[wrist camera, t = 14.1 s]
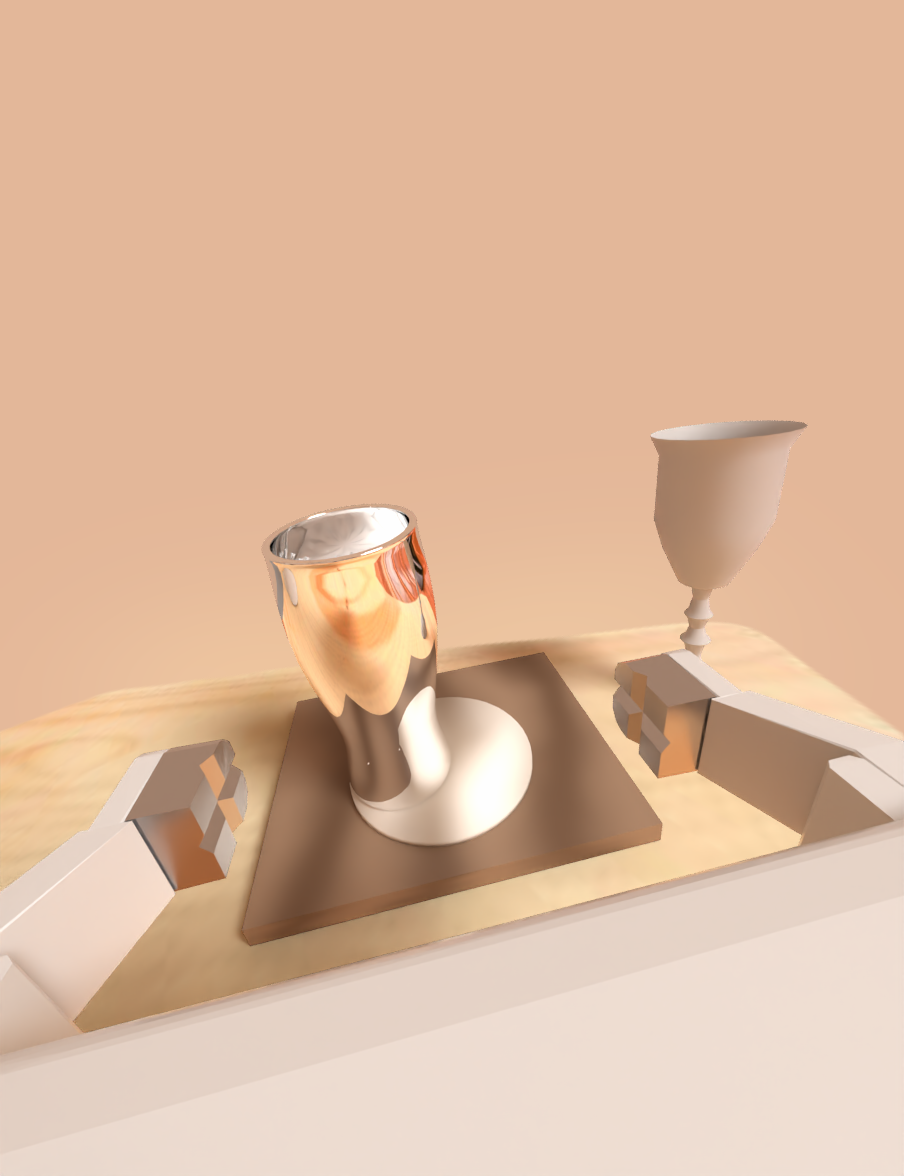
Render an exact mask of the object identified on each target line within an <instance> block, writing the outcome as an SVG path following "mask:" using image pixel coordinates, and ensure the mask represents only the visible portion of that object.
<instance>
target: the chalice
mask: <svg viewBox="0 0 904 1176" xmlns="http://www.w3.org/2000/svg"><path fill="white" fill-rule="evenodd" d="M806 427H807V425H806V424H805V423H801V422H793V421H739V422H722V423H710V424H701V425H692V426H684V427H677V428H671V429H666V430H662V431H658V432H655V433H652V434H651V439H652V441H653V443H654V445H655V447H656V450H657V452H658V454H659V464H658V476H657V489H656V502H655V514H654V521H655V524H656V527H657V531H658V534H659V538H660V541H661V544H662V547H663V549H664V551H665V554H666V555H667V558H668V560H669V562H670V564H671V566H672V568H673V570H674V573H675V575H676V577H677V579H678V581H679V582H680V583H682V584H684V585H686V586H689V587H692V593H693V598H692V600H691V603H690V606H689V608H687V609H686V610H685V612H684V613H685V615H686V616H687V618H688V622H689V627H688V629H687V631H686V632H684V633H682V634H681V635H680V639H681V640H682V641H683V642H684V643H685V649H686V650H688V651H690V652H692V653H693V654H694V655H696V656H697V657H698V658H699V659H701V652H702V650H703V648H704V646H705V645H707V644H708V643H710V641H711V639H710V637H709V636H708V635H707V634H706V631H705V625H706V623H707V621H708V620H709V619H710V618H711V617H712V616H713V613H712V612H711V610H710V606H709V596H710V594H711V591H712V589H716V588H721V587H724V586H726V585H728V584H729V583H730V582H731V580H732V579H733V578H734V577H735V576H736V574H737V573H738V572H739V571H740V570H741V568H742V567H743V566H744V565H745V563H746V562H747V561H748V560H749V559H750V557H751V556H752V555H753V554H754V552H755V551H756V550H757V549H758V547H759V545H760V544H761V542H762V541H763V539H764V538H765V536H766V534H767V533H768V531H769V529H770V528H771V526H772V525H773V523H774V522H775V520H776V516H777V511H778V506H779V501H780V496H781V491H782V486H783V481H784V476H785V471H786V466H787V461H788V456H789V451H790V447H791V446H792V445H793V444H794V442H795V441H796V440H797V438H798V437H799V436H800V435H801V433H802V432H803V431H804V429H805V428H806ZM708 666H709V665H708Z"/></svg>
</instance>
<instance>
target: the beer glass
mask: <svg viewBox="0 0 904 1176" xmlns="http://www.w3.org/2000/svg"><path fill="white" fill-rule="evenodd" d="M262 553H263V555H264V558H265V561H266V564H267V568H268V571H269V575H270V580H271V584H272V588H273V592H274V595H275V599H276V603H277V606H278V610H279V613H280V616H281V620H282V623H283V626H284V629H285V632H286V635H287V638H288V640H289V643H290V645H291V647H292V650H293V652H294V655H295V657H296V659H297V661H298V663H299V665H300V667H301V669H302V671H303V673H304V674H305V676H306V678H307V680H308V682H309V684H310V685H311V687H312V688H313V690H314V692H315V693H316V695H317V696H318V698H319V699H320V701H321V703H322V704H323V706H324V707H325V709H326V710H327V712H328V713H329V715H330V716H331V718H332V719H333V721H334V723H335V724H336V726H337V728H338V729H339V731H340V733H341V735H342V738H343V740H344V743H345V747H346V752H347V764H348V775H349V780H350V784H351V787H352V789H353V791H354V792H355V794H356V795H357V796H358V798H359V799H360V800H362V801H363V802H364V803H366V804H367V805H369V806H371V807H374V808H377V809H381V810H401V809H405V808H409V807H412V806H415V805H417V804H419V803H421V802H423V801H424V800H426V799H427V798H429V797H430V796H431V795H433V794H434V793H435V792H436V791H437V790H438V789H439V788H440V786H441V785H442V784H443V782H444V781H445V779H446V777H447V775H448V772H449V769H450V765H451V750H450V746H449V743H448V740H447V738H446V735H445V733H444V731H443V729H442V727H441V725H440V722H439V719H438V715H437V711H436V675H437V651H438V641H437V618H436V610H435V601H434V595H433V590H432V585H431V580H430V575H429V571H428V567H427V562H426V558H425V554H424V550H423V547H422V543H421V539H420V535H419V531H418V527H417V519H416V516H415V514H414V513H413V512H412V511H410V510H408V509H406V508H403V507H400V506H395V505H389V504H361V505H352V506H346V507H339V508H334V509H330V510H325V511H322V512H318V513H315V514H311V515H308V516H305V517H303V518H300V519H298V520H295V521H293V522H291V523H288V524H286V525H285V526H283V527H281V528H279V529H278V530H276V531H275V532H273V533H272V534H271V535H270V536H269V537H268V538H267V539H266V540H265V541H264V543H263V545H262Z"/></svg>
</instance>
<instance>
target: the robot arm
mask: <svg viewBox="0 0 904 1176" xmlns="http://www.w3.org/2000/svg"><path fill="white" fill-rule="evenodd" d="M614 679H615V680H616V681H617V682H618V683H619V685H620V687H619V688H618V689H617V691H616V692H615V694H614V695H613V710H614V714H615V718H616V721H617V723H618V725H619V727H620V729H621V731H622V732H623V733H624V735H625V736H626V737H627V738H628V739H630V740H632V741H634V742H636V743H638V744H640V745H639V755H640V756H641V757H642V758H643V760H644V761H645V762H646V764H647V765H648V766H649V768H650V769H651V770H652V771H653V773H654V774H655V775H656V777H657V778H662V777H667V776H672V775H677V774H682V773H688V772H693V771H698V772H697V773H699V774H701V775H702V776H704V777H706V778H707V779H709V780H711V781H712V782H714V783H716V784H717V785H719V786H721V787H722V788H724V789H726V790H727V791H729V792H731V793H732V794H734V795H736V796H737V797H739V798H741V799H742V800H744V801H746V802H747V803H749V804H751V805H752V806H754V807H756V808H757V809H759V810H761V811H762V812H764V813H766V814H767V815H769V816H771V817H772V818H774V819H776V820H777V821H779V822H781V823H782V824H784V825H786V826H787V827H789V828H791V829H792V830H794V831H796V832H797V833H799V834H801V835H802V836H801V839H800V842H799V844H798V846H797V847H793V848H790V849H786V850H782V851H778V852H774V853H770V854H767V855H763V856H759V857H755V858H751V859H747V860H744V861H740V862H736V863H732V864H728V865H725V866H721V867H717V868H713V869H709V870H705V871H702V872H698V873H694V874H690V875H686V876H683V877H679V878H675V879H671V880H667V881H664V882H660V883H656V884H652V885H648V886H645V887H641V888H637V889H633V890H629V891H626V892H622V893H618V894H614V895H610V896H607V897H603V898H599V899H595V900H591V901H587V902H584V903H580V904H576V905H572V906H568V907H565V908H561V909H557V910H553V911H549V912H546V913H542V914H538V915H534V916H530V917H527V918H523V919H519V920H515V921H511V922H507V923H504V924H500V925H496V926H492V927H488V928H485V929H481V930H477V931H473V932H469V933H465V934H462V935H458V936H454V937H450V938H446V939H442V940H439V941H435V942H431V943H427V944H423V945H420V946H416V947H412V948H408V949H404V950H400V951H397V952H393V953H389V954H385V955H381V956H377V957H374V958H370V959H366V960H362V961H358V962H354V963H351V964H347V965H343V966H339V967H335V968H332V969H328V970H324V971H320V972H316V973H312V974H309V975H305V976H301V977H297V978H293V979H290V980H286V981H282V982H278V983H274V984H270V985H267V986H263V987H259V988H255V989H251V990H247V991H244V992H240V993H236V994H232V995H228V996H225V997H221V998H217V999H213V1000H209V1001H205V1002H202V1003H198V1004H194V1005H190V1006H186V1007H182V1008H179V1009H175V1010H171V1011H167V1012H163V1013H160V1014H156V1015H152V1016H148V1017H144V1018H140V1019H137V1020H133V1021H129V1022H125V1023H121V1024H117V1025H114V1026H110V1027H106V1028H102V1029H98V1030H95V1031H91V1032H87V1033H83V1031H82V1030H81V1029H80V1028H79V1027H78V1026H77V1025H76V1024H75V1023H74V1022H73V1021H74V1020H75V1019H76V1017H77V1016H78V1015H79V1014H80V1012H81V1011H82V1010H83V1009H84V1007H85V1006H86V1005H87V1004H88V1002H89V1001H90V1000H91V999H92V997H93V996H94V995H95V994H96V992H97V991H98V990H99V989H100V987H101V986H102V985H103V984H104V982H105V981H106V980H107V979H108V978H109V976H110V975H111V974H112V973H113V971H114V970H115V969H116V968H117V966H118V965H119V964H120V963H121V961H122V960H123V959H124V958H125V956H126V955H127V954H128V953H129V951H130V950H131V949H132V948H133V946H134V945H135V944H136V943H137V941H138V940H139V939H140V938H141V936H142V935H143V934H144V933H145V931H146V930H147V929H148V928H149V926H150V925H151V924H152V923H153V922H154V920H155V919H156V918H157V917H158V915H159V914H160V913H161V912H162V910H163V909H164V908H165V907H166V905H167V904H168V903H169V902H170V900H171V899H172V898H173V897H174V895H175V891H178V890H182V889H185V888H189V887H193V886H197V885H201V884H205V883H209V882H212V881H216V880H220V879H224V878H226V876H227V873H228V870H229V866H230V863H231V860H232V857H233V853H234V850H235V847H236V843H237V842H236V840H235V838H234V836H233V834H232V832H233V831H234V830H235V829H236V828H237V827H238V826H239V825H240V824H241V823H242V822H243V820H244V816H245V813H246V809H247V796H248V790H247V785H246V780H245V777H244V775H243V772H242V770H240V769H238V768H237V767H235V766H233V765H231V764H232V761H233V758H234V755H235V753H234V751H233V749H232V746H231V744H230V742H229V741H227V740H224V739H222V740H216V741H210V742H205V743H199V744H193V745H187V746H181V747H176V748H171V749H166V750H160V751H155V752H149V753H144V754H142V755H140V756H138V757H137V758H135V760H134V761H133V762H132V764H131V766H130V767H129V769H128V770H127V772H126V773H125V775H124V776H123V778H122V779H121V781H120V782H119V784H118V785H117V787H116V788H115V790H114V791H113V793H112V794H111V796H110V797H109V799H108V801H107V802H106V804H105V805H104V807H103V808H102V810H101V811H100V813H99V814H98V816H97V817H96V819H95V820H94V822H93V823H92V825H91V826H90V828H89V829H88V830H85V831H81V832H78V833H76V834H75V835H74V836H73V837H71V838H70V839H69V840H67V841H66V842H65V843H63V844H62V845H61V846H60V847H58V848H57V849H56V850H54V851H53V852H52V853H50V854H49V855H48V856H47V857H45V858H44V859H43V860H41V861H40V862H39V863H37V864H36V865H35V866H34V867H32V868H31V869H30V870H28V871H27V872H26V873H24V874H23V875H22V876H21V877H19V878H18V879H17V880H15V881H14V882H13V883H11V884H10V885H9V886H8V887H6V888H5V889H4V890H2V891H1V892H0V1176H904V741H902V740H899V739H896V738H893V737H890V736H887V735H884V734H880V733H877V732H874V731H871V730H868V729H865V728H862V727H859V726H856V725H853V724H850V723H847V722H844V721H841V720H838V719H834V718H831V717H828V716H825V715H822V714H819V713H816V712H813V711H810V710H807V709H804V708H801V707H798V706H795V705H792V704H788V703H785V702H782V701H779V700H776V699H773V698H770V697H767V696H764V695H761V694H758V693H755V692H752V691H746V692H742V691H740V690H739V689H738V688H737V687H735V686H734V685H733V684H731V683H730V682H729V681H728V680H726V679H725V678H724V677H723V676H721V675H720V674H719V673H717V672H716V671H715V670H714V669H712V668H711V667H710V666H708V665H707V664H706V663H705V662H703V661H702V660H701V659H699V658H698V657H697V656H696V655H694V654H693V653H692V652H690V651H688V650H685V649H680V650H675V651H671V652H666V653H662V654H661V655H655V656H650V657H645V658H640V659H635V660H630V661H625V662H620V663H618V664H617V666H616V669H615V678H614Z"/></svg>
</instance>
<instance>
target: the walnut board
mask: <svg viewBox="0 0 904 1176" xmlns="http://www.w3.org/2000/svg"><path fill="white" fill-rule="evenodd" d="M436 711H437V715H438V719H439V722H440V725H441V727H442V729H443V731H444V733H445V735H446V738H447V740H448V743H449V746H450V750H451V765H450V769H449V772H448V775H447V777H446V779H445V781H444V782H443V784H442V785H441V786H440V788H439V789H438V790H437V791H436V792H435V793H434V794H433V795H431V796H430V797H429V798H427V799H426V800H424V801H423V802H421V803H419V804H417V805H415V806H412V807H409V808H405V809H401V810H381V809H377V808H374V807H371V806H369V805H367V804H366V803H364V802H363V801H362V800H360V799H359V798H358V796H357V795H356V794H355V792H354V791H353V789H352V787H351V784H350V780H349V775H348V764H347V752H346V747H345V743H344V740H343V738H342V735H341V733H340V731H339V729H338V728H337V726H336V724H335V723H334V721H333V719H332V718H331V716H330V715H329V713H328V712H327V710H326V709H325V707H324V706H323V704H322V703H321V701H320V699H319V698H314V699H309V700H304V701H299V702H297V706H296V710H295V714H294V718H293V723H292V727H291V731H290V735H289V739H288V743H287V747H286V751H285V755H284V759H283V764H282V768H281V772H280V776H279V780H278V784H277V788H276V792H275V796H274V800H273V805H272V809H271V813H270V817H269V821H268V825H267V829H266V833H265V837H264V841H263V846H262V850H261V854H260V858H259V862H258V866H257V870H256V874H255V878H254V882H253V887H252V891H251V895H250V899H249V903H248V907H247V911H246V915H245V919H244V923H243V927H242V932H243V934H244V936H245V937H246V939H247V941H248V943H249V945H250V946H252V945H256V944H260V943H263V942H267V941H271V940H275V939H279V938H283V937H287V936H291V935H294V934H298V933H302V932H306V931H310V930H314V929H318V928H321V927H325V926H329V925H333V924H337V923H341V922H345V921H348V920H352V919H356V918H360V917H364V916H368V915H372V914H375V913H379V912H383V911H387V910H391V909H395V908H399V907H403V906H406V905H410V904H414V903H418V902H422V901H426V900H430V899H433V898H437V897H441V896H445V895H449V894H453V893H457V892H460V891H464V890H468V889H472V888H476V887H480V886H484V885H487V884H491V883H495V882H499V881H503V880H507V879H511V878H514V877H518V876H522V875H526V874H530V873H534V872H538V871H542V870H545V869H549V868H553V867H557V866H561V865H565V864H569V863H572V862H576V861H580V860H584V859H588V858H592V857H596V856H599V855H603V854H607V853H611V852H615V851H619V850H623V849H626V848H630V847H634V846H638V845H642V844H646V843H650V842H653V841H657V840H660V839H661V831H662V822H661V821H660V819H659V818H658V816H657V815H656V813H655V812H654V811H653V809H652V808H651V806H650V805H649V803H648V802H647V800H646V799H645V798H644V796H643V795H642V793H641V792H640V790H639V789H638V787H637V786H636V785H635V783H634V782H633V780H632V779H631V777H630V776H629V775H628V773H627V772H626V770H625V769H624V767H623V766H622V764H621V763H620V762H619V760H618V759H617V757H616V756H615V754H614V753H613V751H612V750H611V749H610V747H609V746H608V744H607V743H606V741H605V740H604V739H603V737H602V736H601V734H600V733H599V731H598V730H597V728H596V727H595V726H594V724H593V723H592V721H591V720H590V718H589V717H588V715H587V714H586V713H585V711H584V710H583V708H582V707H581V705H580V704H579V702H578V701H577V700H576V698H575V697H574V695H573V694H572V692H571V691H570V690H569V688H568V687H567V685H566V684H565V682H564V681H563V679H562V678H561V677H560V675H559V674H558V672H557V671H556V669H555V668H554V666H553V665H552V664H551V662H550V661H549V659H548V658H547V656H546V655H545V653H544V652H543V653H538V654H533V655H528V656H523V657H518V658H513V659H508V660H503V661H498V662H493V663H488V664H483V665H478V666H473V667H468V668H463V669H458V670H453V671H448V672H443V673H438V674H437V675H436Z"/></svg>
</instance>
